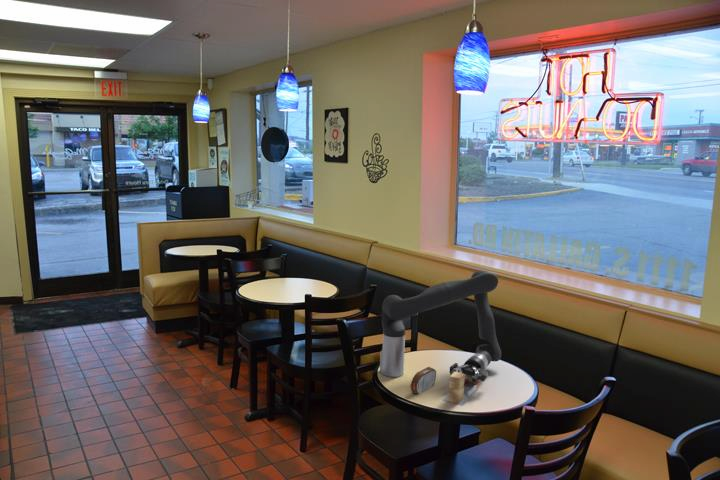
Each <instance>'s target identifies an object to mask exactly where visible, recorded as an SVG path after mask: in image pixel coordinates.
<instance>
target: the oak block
mask: <svg viewBox="0 0 720 480" xmlns="http://www.w3.org/2000/svg"><path fill="white" fill-rule="evenodd" d="M465 377H466V375H465V374H463V373H462V372H461V373H459V372H458V371H456V372H454V373H453V374H451V375H450V374H449V383H448V394H449V399H448V401H450V402H449V403H451V402H453V403H452V404H454V403H457V404H456V405H458V404H459V403H460V402H461V401H462V400H463V393H464V386H465V383H464V378H465Z"/></svg>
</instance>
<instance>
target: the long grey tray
mask: <svg viewBox="0 0 720 480" xmlns="http://www.w3.org/2000/svg"><path fill="white" fill-rule="evenodd" d="M472 378H473V377H472ZM472 378H471V377H467V376H465V377H464V384H466V382H468V383H472ZM481 385H482V381H481V380H479V381H477V382H475V383H474V385H473V386H472V387H469V386H467V385H464V393H463V400H462V401H461V402H460V403H459V404H457V403H453V402H450V401H448V399H449V393H448V394H447V395H446V396H445V397H444V398H443V399H442V401H443V402H448V403H452V404H454V405H458V406H462V407H463V406H464V405H465V404H466V403H467V402H468V401H469V400H470V399H471V398H472V396H473V395H474V394H475V393H476V392H477V391H478V390H479V389H478V388H479V387H480V386H481Z"/></svg>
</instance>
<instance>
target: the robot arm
mask: <svg viewBox="0 0 720 480" xmlns="http://www.w3.org/2000/svg"><path fill="white" fill-rule="evenodd" d="M498 284H499V277H498V275H496V274H495V273H494V272H492V271H489V270H477V271H474V272H473V273H472V275H471V277H470V278H466V279H459V280H451V281H445V282H440V283H437V284H434V285H432V286H429V287H427V288H426V289H425V290H424V291H423V292H421V293H420V294H417V295H415V296H411V297H407V298H402V297H401V296H399V295H396V294H391V295H390V294H389V295H387V297H385V298H384V299H383V302H382V307H381V326H382V331H383V332H382V349H381V350H380V354H379V355H380V357H379V359H380V360H379V373H380V374H382V375H384V376H386V377H391V378H397V377H398V378H399V377H402V376H404V370H405V369H404V368H405V366H404V365H405V348H406V347H405V346H406V344H405V343H406V327H405V325H404V324H405V323H404V320H405V319H408V318H410V317H412V316H413V317H414V316H415V315H417V314H419V313H422V312H426V311H430V310H432V309H437V308H439V307H442V306H446V305H449V304H452V303H455V302H458V301H460V300H463V299H466V298H468V297H472V296H473V297H474V303H475V307H476V314H477V323H478V325H477V326H478V337H479V339H481V340H483V341H486V342H488V343H489V344H480V345H478V346H477V347H476V352H475V353H474V354H473V355H471V356H470V357H469V358H467V360H465V362H464V363H463V364H462V365H459V363H457V362H455V363H453V364H452V365H450V366H449V376H450V375H451V374H453V373H454V372H459V373H463V374H465V376H469V377H470V378H471V377H472V382H471V383H472V384H476V383H475V382H477V381H479V380H480V381H481V382H485V381H486V379H487V378H488V375H489V374H488V373H489V371H488V370H487V367H488V366H489V365H490V364H491V362H498V361H500V359H501V357H502V350H501V347H500V344H499V342H498V338H497V335H496V334H497V333H496V323H495V317H494V314H493V312H492V308H491V306H490V303H489V296H488V293H491V292H493V291H494V290H496V288H497V287H498Z"/></svg>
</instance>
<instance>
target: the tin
mask: <svg viewBox="0 0 720 480" xmlns="http://www.w3.org/2000/svg"><path fill="white" fill-rule="evenodd" d="M436 378H437V371H436V369H435V368H433V367H430V366H427V367H426V368H423V369H420V371H417V372H416V373H415V374H414V375H413V377H412V379H411V384H410V391H411V392H412V393H414V394H417V395H420V394H421V393H423V392H425V391H427V390H428V389H430V388H431V387H433V386H434V384H435V382H436V380H437V379H436Z"/></svg>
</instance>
